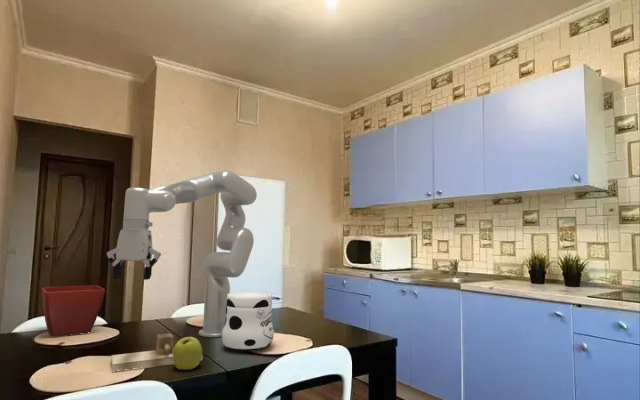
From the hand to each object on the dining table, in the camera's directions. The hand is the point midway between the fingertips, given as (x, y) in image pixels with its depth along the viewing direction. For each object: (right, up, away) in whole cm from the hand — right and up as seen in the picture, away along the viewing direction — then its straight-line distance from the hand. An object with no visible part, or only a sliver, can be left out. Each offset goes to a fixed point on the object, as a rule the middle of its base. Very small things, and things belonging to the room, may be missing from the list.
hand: (132, 279), depth 124 cm
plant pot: (-36, -26, +25) cm, 51 cm away
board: (+12, -23, -9) cm, 27 cm away
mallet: (+14, -21, -9) cm, 27 cm away
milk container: (+36, -25, +7) cm, 44 cm away
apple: (+23, -23, -15) cm, 35 cm away
